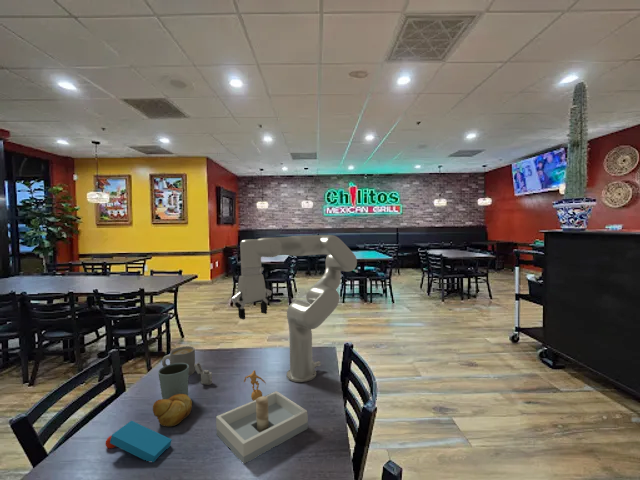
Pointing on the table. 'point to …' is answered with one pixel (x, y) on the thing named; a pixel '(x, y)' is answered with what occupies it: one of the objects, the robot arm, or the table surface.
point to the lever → (139, 441)
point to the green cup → (174, 379)
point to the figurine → (253, 377)
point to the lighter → (204, 375)
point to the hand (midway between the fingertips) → (253, 315)
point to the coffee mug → (182, 357)
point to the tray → (242, 424)
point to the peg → (262, 413)
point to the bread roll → (172, 409)
